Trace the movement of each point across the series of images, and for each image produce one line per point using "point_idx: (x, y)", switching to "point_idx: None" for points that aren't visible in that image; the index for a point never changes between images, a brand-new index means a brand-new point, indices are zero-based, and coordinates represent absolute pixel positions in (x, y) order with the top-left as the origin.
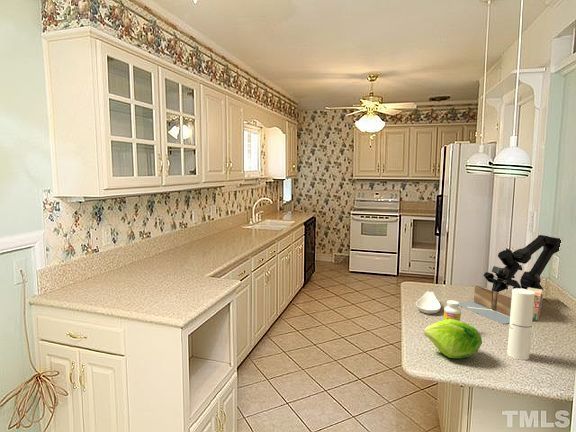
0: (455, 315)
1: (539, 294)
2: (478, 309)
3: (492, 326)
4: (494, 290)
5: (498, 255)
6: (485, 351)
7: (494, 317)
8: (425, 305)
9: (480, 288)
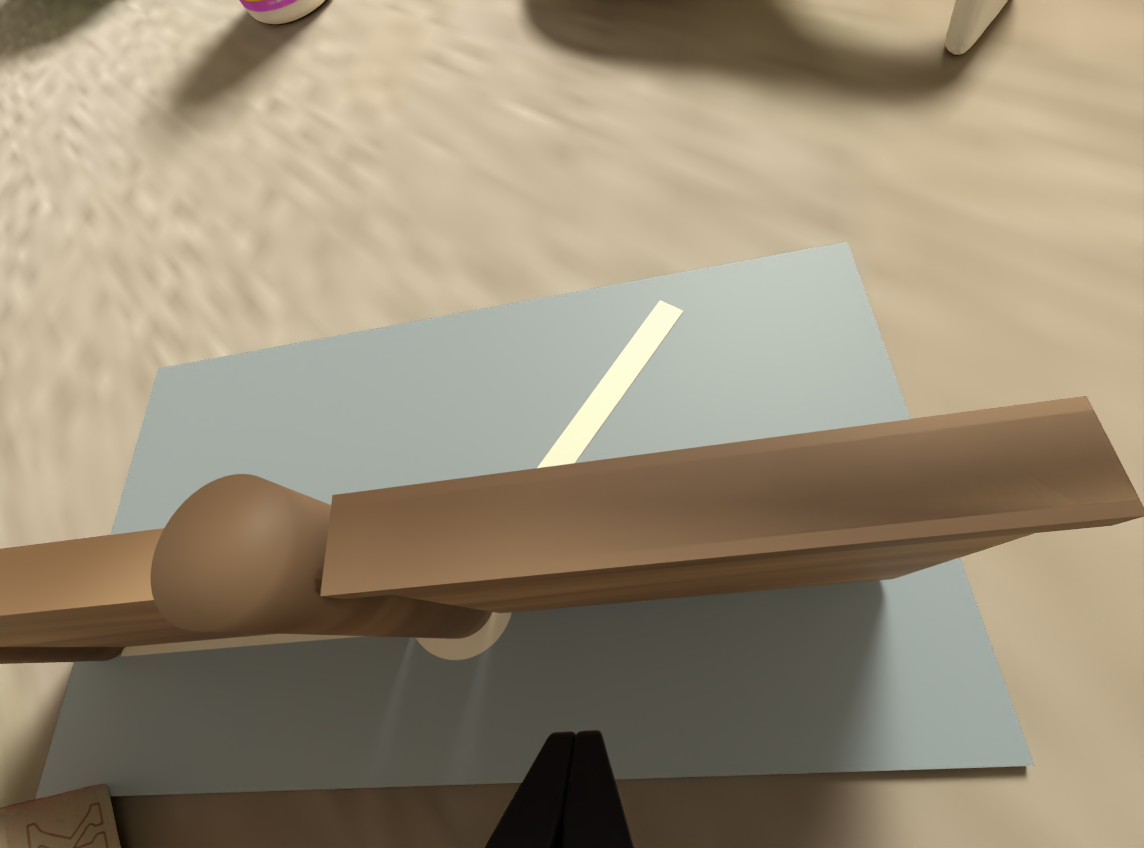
0: None
1: None
2: (556, 392)
3: (194, 257)
4: (497, 827)
5: None
6: (55, 53)
7: (291, 398)
8: None
9: (783, 441)
